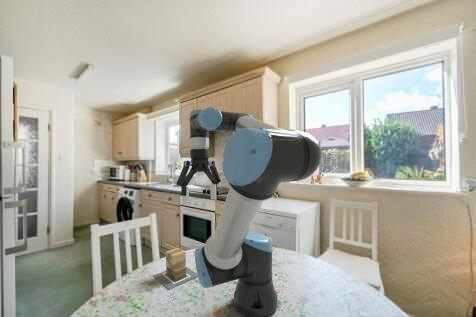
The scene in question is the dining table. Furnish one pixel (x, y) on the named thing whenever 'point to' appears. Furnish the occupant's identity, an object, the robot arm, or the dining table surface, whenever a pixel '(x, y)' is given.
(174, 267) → the oak block
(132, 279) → the dining table surface
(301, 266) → the dining table surface
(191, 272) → the mat
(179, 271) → the base block
